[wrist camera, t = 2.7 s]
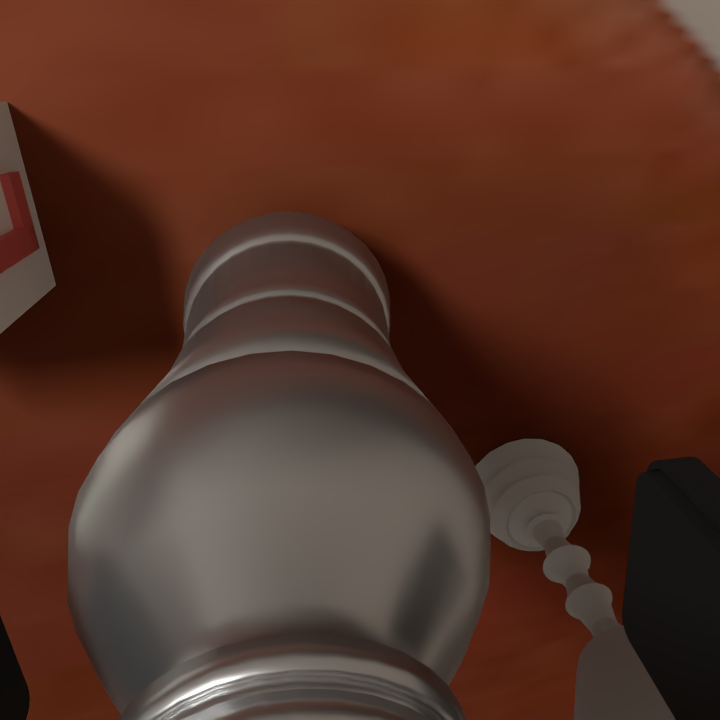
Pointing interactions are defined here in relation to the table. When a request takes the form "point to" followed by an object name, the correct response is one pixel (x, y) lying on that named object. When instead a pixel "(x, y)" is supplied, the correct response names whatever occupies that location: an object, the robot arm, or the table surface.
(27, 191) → the lettered cube
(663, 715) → the chalice
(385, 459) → the metal bottle
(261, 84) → the table surface
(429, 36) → the table surface
